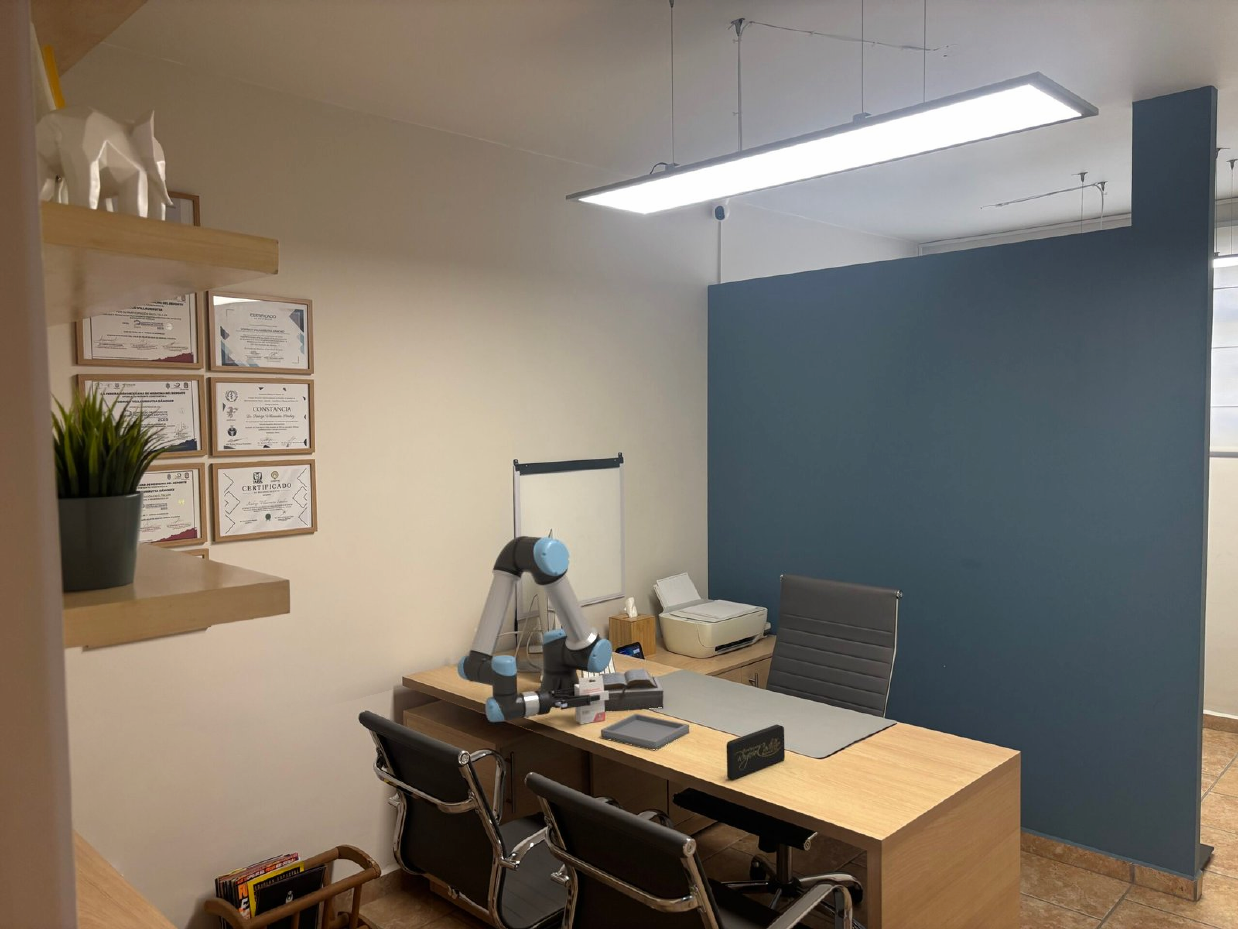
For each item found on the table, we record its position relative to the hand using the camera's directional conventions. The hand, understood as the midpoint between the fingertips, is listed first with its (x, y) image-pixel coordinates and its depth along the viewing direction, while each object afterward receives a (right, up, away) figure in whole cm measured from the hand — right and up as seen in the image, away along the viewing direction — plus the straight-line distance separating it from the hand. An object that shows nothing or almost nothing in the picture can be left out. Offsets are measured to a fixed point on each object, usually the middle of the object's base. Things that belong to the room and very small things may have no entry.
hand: (604, 692), depth 287 cm
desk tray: (+13, -9, -17) cm, 23 cm away
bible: (+7, -8, +16) cm, 20 cm away
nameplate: (+42, -9, -46) cm, 63 cm away
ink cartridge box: (-4, -9, -2) cm, 10 cm away
